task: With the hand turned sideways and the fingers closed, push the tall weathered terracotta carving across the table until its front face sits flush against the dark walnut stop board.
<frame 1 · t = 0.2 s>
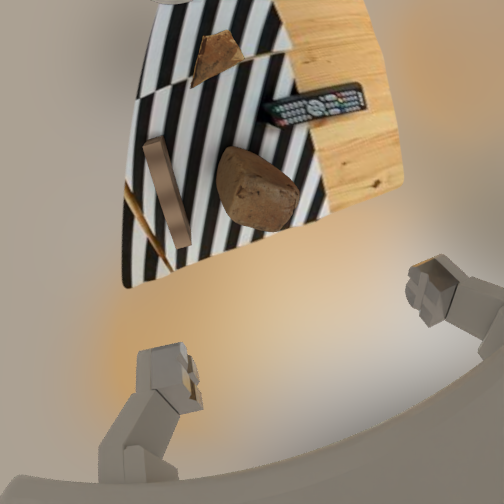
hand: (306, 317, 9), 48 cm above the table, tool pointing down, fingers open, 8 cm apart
board: (169, 187, 54), on the table
brown flat angular piece: (219, 61, 44), on the table
weathered terracotta carving: (244, 167, 55), on the table
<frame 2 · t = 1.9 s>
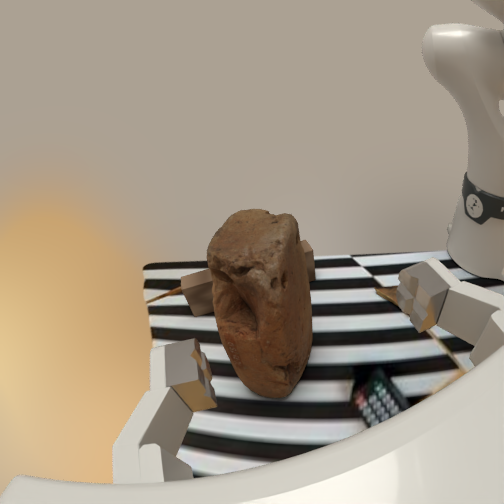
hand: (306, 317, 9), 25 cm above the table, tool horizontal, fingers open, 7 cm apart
board: (253, 292, 48), on the table
brown flat angular piece: (414, 311, 38), on the table
weathered terracotta carving: (279, 366, 36), on the table
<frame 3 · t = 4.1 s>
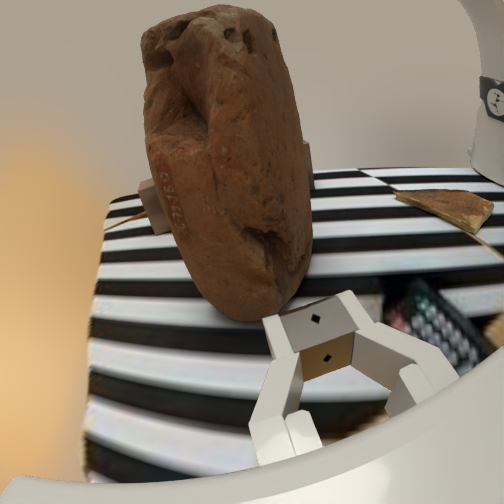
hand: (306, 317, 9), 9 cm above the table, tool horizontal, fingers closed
board: (233, 205, 36), on the table
brown flat angular piece: (448, 219, 27), on the table
weathered terracotta carving: (264, 281, 25), on the table
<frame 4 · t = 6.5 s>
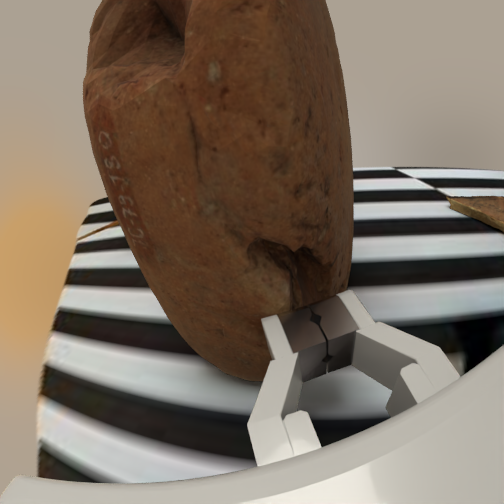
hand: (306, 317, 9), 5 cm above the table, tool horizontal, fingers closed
weathered terracotta carving: (280, 312, 17), on the table, touching gripper
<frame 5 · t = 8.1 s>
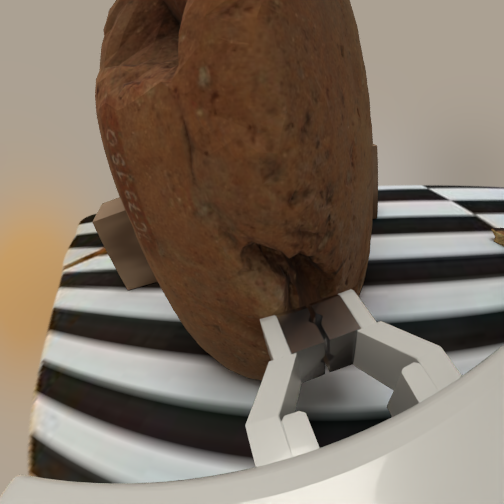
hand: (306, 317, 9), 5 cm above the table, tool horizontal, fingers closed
board: (252, 242, 23), on the table
weathered terracotta carving: (290, 312, 17), on the table, touching gripper
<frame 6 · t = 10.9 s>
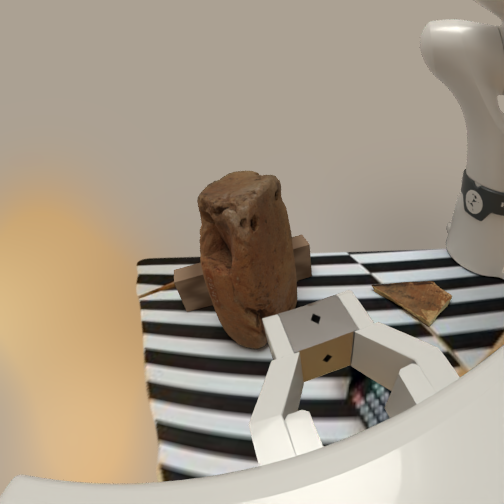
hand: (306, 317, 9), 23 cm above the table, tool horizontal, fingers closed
board: (248, 288, 47), on the table
brown flat angular piece: (413, 309, 37), on the table
weathered terracotta carving: (263, 323, 40), on the table
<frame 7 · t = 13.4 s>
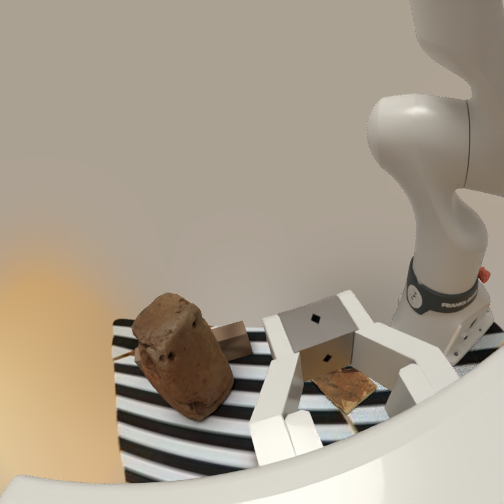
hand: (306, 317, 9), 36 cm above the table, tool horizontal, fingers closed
board: (198, 361, 51), on the table
brown flat angular piece: (338, 394, 42), on the table
weathered terracotta carving: (206, 397, 45), on the table
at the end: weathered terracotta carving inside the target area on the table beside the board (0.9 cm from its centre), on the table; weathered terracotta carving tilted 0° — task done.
